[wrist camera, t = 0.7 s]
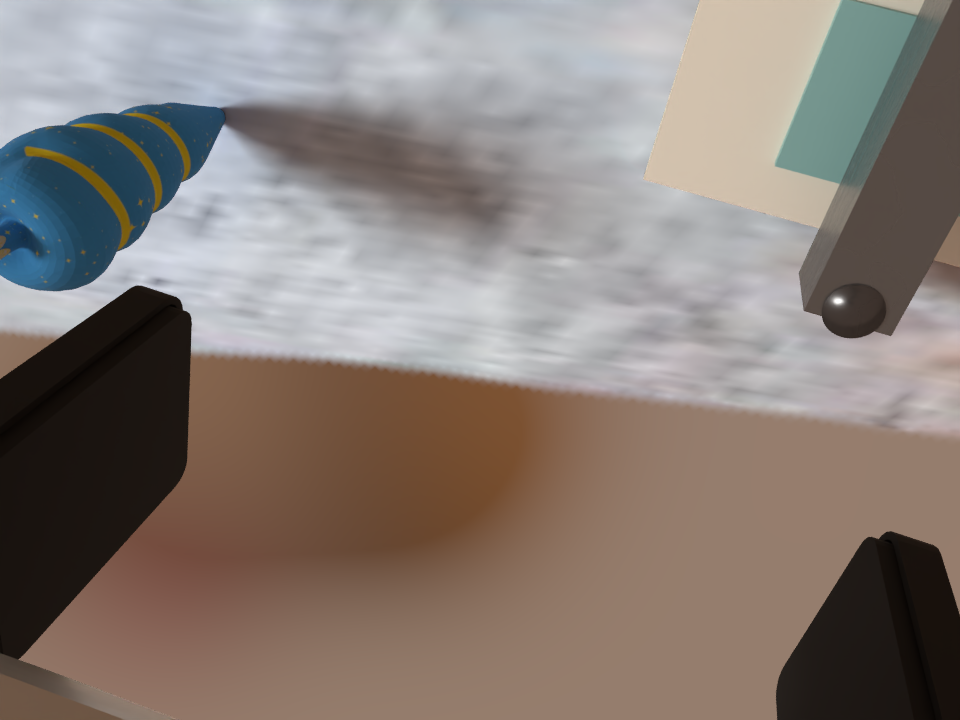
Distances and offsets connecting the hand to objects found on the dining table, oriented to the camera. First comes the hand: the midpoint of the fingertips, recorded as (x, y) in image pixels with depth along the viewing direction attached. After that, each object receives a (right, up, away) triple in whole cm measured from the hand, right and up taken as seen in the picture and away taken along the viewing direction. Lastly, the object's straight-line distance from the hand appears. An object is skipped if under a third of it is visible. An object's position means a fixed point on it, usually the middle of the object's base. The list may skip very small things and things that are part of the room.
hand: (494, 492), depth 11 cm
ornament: (-12, +13, +27) cm, 32 cm away
